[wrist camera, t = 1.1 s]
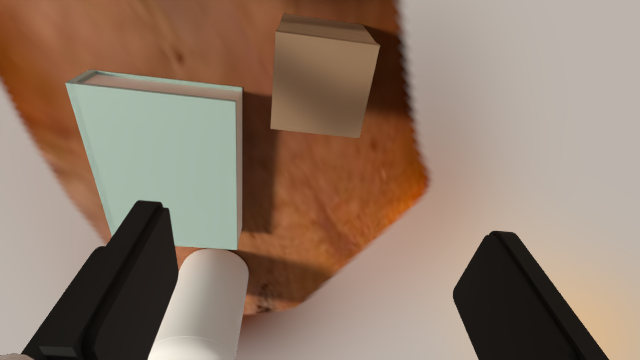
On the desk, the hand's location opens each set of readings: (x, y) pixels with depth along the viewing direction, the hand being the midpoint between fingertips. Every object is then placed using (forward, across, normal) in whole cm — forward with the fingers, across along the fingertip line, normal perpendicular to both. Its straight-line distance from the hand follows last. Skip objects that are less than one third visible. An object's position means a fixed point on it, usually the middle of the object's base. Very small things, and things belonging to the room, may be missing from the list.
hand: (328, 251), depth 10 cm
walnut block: (+20, 0, 0) cm, 20 cm away
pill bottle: (+20, +8, +26) cm, 34 cm away
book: (+21, +12, +11) cm, 26 cm away
